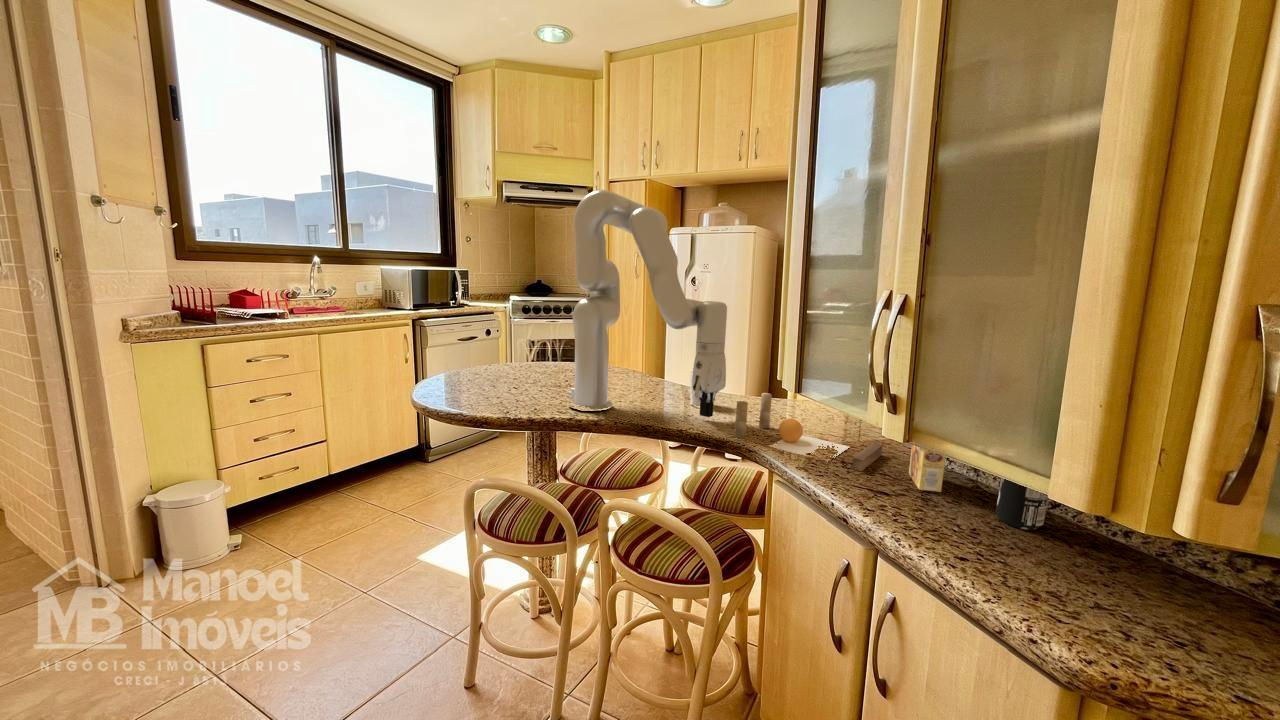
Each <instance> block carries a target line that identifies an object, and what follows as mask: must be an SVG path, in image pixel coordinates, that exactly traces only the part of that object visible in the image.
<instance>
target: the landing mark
mask: <svg viewBox="0 0 1280 720" xmlns="http://www.w3.org/2000/svg"><path fill="white" fill-rule="evenodd" d="M776 442H777V443H778V442H779V443H780V444H777V445H776ZM776 442H775V445H776V447H775V445H774V443H772V444H773V446H772V444H770V445H769V446H770V447H769V448H771V447H774V448H778V449H781V450H780V451H782V450H784V451H783V452H786V451H788V452H787V453H790V452H792V453H791V454H793V453H796V454H795V455H797V454H801V455H802V454H803V455H806V454H805V453H811V452H812V453H813V452H815V451H814V450H816V449H818V448H819V447H818V446H821V447H820V448H821V449H822V446H824V447H826V448H827V445H829V447H830V448H832V446H835V447H834V449H835V450H837V451H838V453H837V455H836V454H835V455H834V456H835V457H836V456H837V457H839V456H840V455H842V454H843V453H845V452H846V451H847V450H849V449H850V448H851V446H849V445H844V444H841V443H836V442H831V441H828V440H823V439H819V438H816V437H810V436H807V435H804V434H802V436H801V438H800V439H799V440H797V441H795V442H787V441H785V440H783V439H782V438H781V439H780V440H778V441H776ZM822 444H823V445H822ZM832 444H833V445H832ZM824 447H823V448H824ZM837 447H838V448H837ZM774 448H773V449H774ZM826 448H824V449H826ZM848 448H849V449H848ZM778 449H777V450H778ZM830 450H831V449H830ZM845 450H846V451H845ZM844 451H845V452H844ZM842 452H843V453H842ZM812 453H811V454H812ZM841 453H842V454H841ZM839 454H840V455H839ZM801 455H800V456H801ZM838 455H839V456H838ZM834 456H833V457H834ZM830 457H831V456H830ZM835 457H834V459H836V458H837V457H836V458H835ZM827 462H828V461H827ZM827 462H826V463H827Z"/></svg>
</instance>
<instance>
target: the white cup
mask: <svg viewBox="0 0 1280 720" xmlns="http://www.w3.org/2000/svg"><path fill="white" fill-rule="evenodd" d="M689 372H690V375H689V379H690V380H689V381H690V383H689V392H690V394H689V395H690V405H691V404H693V405H696V406H700V401H699V397H695V396H694V394H695V391H694V390H693V388H692V376H693V370H692V371H689ZM712 402H713V401H712Z"/></svg>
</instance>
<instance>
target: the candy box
mask: <svg viewBox="0 0 1280 720" xmlns="http://www.w3.org/2000/svg"><path fill="white" fill-rule="evenodd" d="M910 449H911V451H910V459H909V467H908V474H909V476H910V478H911V479H912V481H913V483H914V485H916V487H917V489H918V490H919V491H927V492H936V493H941V492H942V488H943V481H944V480H943V479H944V473H945V466H946V465H945V464H946V457H947V455H946V456H944V455H941V454H937V453H934V452H932V451H929V450H927V449H924V448H921V447H918V446H915V445H912V444H911V448H910Z"/></svg>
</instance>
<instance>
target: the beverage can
mask: <svg viewBox="0 0 1280 720" xmlns="http://www.w3.org/2000/svg"><path fill="white" fill-rule="evenodd" d="M997 496H998V497H997V502H996V507H995V508H996V509H995V514H996V516H997V517H998V519H999V520H1000V521H1001V522H1002V523H1004V524H1007V525H1008V526H1012V527H1015V528H1017V529H1022V530H1029V531H1033V530H1038V529H1039V528H1041V527H1043V526H1044V524H1045V518H1046V512H1047V508H1048V507H1047V506H1048V501H1049V497H1047V496H1046V495H1044V494H1042V493H1039V492H1036V491H1033V490H1031V489H1029V488H1027V487H1024V486H1021V485H1018V484H1016V483H1013V482H1011V481H1008V480H1006V479H1003V478H1001V477H1000V484H999V490H998V495H997Z"/></svg>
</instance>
